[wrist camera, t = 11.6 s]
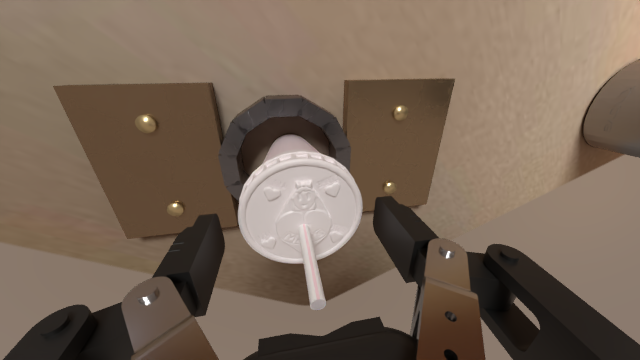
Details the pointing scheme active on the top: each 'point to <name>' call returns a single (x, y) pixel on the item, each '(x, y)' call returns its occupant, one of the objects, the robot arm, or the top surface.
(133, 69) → the top surface
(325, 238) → the smoothie
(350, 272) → the top surface
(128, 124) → the hinge base
